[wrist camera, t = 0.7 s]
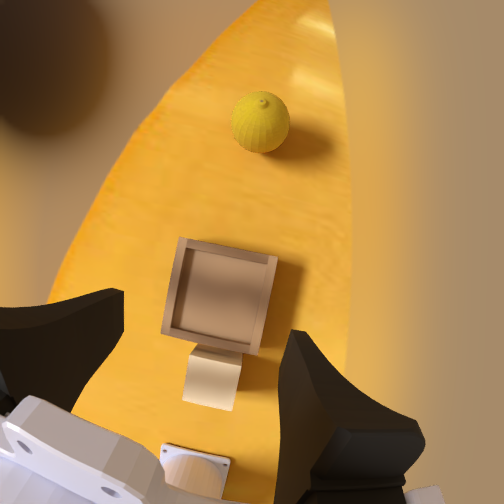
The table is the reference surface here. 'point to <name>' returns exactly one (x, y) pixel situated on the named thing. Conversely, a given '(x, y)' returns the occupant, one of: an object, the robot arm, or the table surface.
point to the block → (212, 376)
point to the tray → (218, 296)
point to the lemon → (260, 122)
